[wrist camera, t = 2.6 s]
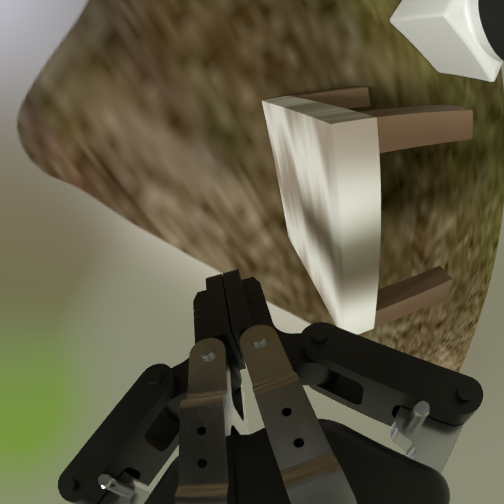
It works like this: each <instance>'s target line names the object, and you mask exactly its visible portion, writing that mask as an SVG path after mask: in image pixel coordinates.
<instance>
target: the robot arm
mask: <svg viewBox="0 0 504 504" xmlns="http://www.w3.org/2000/svg"><path fill="white" fill-rule="evenodd" d="M206 289H207V290H205V291H201V292H198V293H197V295H196V297H195V299H194V301H193V306H194V329H195V345H194V346H193V347H192V349H191V351H190V354H189V358H188V359H187V360H185V361H184V362H182V363H180V364H179V365H177V366H175V367H173V368H170V367H169V366H167V365H165V364H155V365H152V366H150V367H149V368H147V369H146V370H145V371H144V372H143V373H142V375H141V376H140V377H139V378H138V380H137V381H136V382H135V383H134V384H133V386H132V387H131V388H130V389H129V391H128V392H127V393H126V394H125V395H124V397H123V398H122V399H121V400H120V402H119V403H118V404H117V405H116V407H115V408H114V409H113V410H112V412H111V413H110V414H109V415H108V417H107V418H106V419H105V420H104V421H103V423H102V424H101V425H100V427H99V428H98V429H97V430H96V431H95V433H94V434H93V435H92V436H91V438H90V439H89V440H88V441H87V443H86V444H85V445H84V446H83V448H82V449H81V450H80V451H79V453H78V454H77V455H76V456H75V458H74V459H73V460H72V461H71V463H70V464H69V465H68V466H67V468H66V469H65V470H64V471H63V473H62V474H61V476H60V477H59V480H58V489H59V492H60V494H61V496H62V497H63V498H64V499H65V500H67V501H69V502H71V503H74V504H449V501H450V492H449V488H448V484H447V482H446V480H445V479H444V477H443V476H442V475H441V472H442V471H443V469H444V467H445V465H446V463H447V461H448V459H449V457H450V454H451V452H452V450H453V448H454V446H455V443H456V441H457V438H458V436H459V434H460V432H461V429H462V427H463V425H464V423H466V422H467V420H468V419H469V418H470V417H471V416H472V415H473V413H474V412H475V411H476V410H477V409H478V407H479V406H480V404H481V402H482V399H483V390H482V387H481V385H480V384H479V383H478V381H476V380H475V379H473V378H472V377H469V376H466V375H463V374H460V373H458V372H455V371H452V370H449V369H446V368H444V367H441V366H438V365H435V364H433V363H430V362H427V361H424V360H422V359H419V358H416V357H414V356H411V355H408V354H406V353H403V352H400V351H398V350H395V349H392V348H390V347H387V346H385V345H382V344H379V343H377V342H374V341H372V340H369V339H367V338H364V337H361V336H359V335H356V334H354V333H351V332H349V331H346V330H344V329H341V328H339V327H336V326H334V325H332V324H329V323H324V322H319V323H314V324H311V325H309V326H308V327H306V328H305V329H304V330H303V332H302V333H300V334H299V333H296V334H289V333H284V332H282V331H280V330H278V329H277V328H276V327H275V326H274V324H273V322H272V319H271V316H270V312H269V309H268V306H267V303H266V300H265V297H264V294H263V291H262V288H261V284H260V282H259V281H257V280H256V279H255V278H254V277H251V278H247V279H244V280H242V278H241V275H240V272H239V269H237V270H233V271H230V272H226V273H223V276H222V274H220V275H216V276H212V277H209V278H206ZM244 361H245V362H244ZM245 363H246V366H247V369H248V372H249V375H250V378H251V381H252V385H253V392H254V395H255V398H256V401H257V404H258V407H259V410H260V413H261V416H262V420H263V422H264V426H265V428H263V429H261V430H259V431H257V432H255V433H253V434H250V431H249V428H248V425H247V417H246V407H245V398H244V388H243V383H242V378H241V373H240V370H241V369H245V368H246V367H245ZM302 385H309V386H310V387H311V388H312V389H313V390H316V391H317V392H319V393H321V394H323V395H325V396H327V397H329V398H331V399H333V400H335V401H337V402H339V403H341V404H343V405H345V406H347V407H349V408H351V409H354V410H356V411H358V412H360V413H362V414H364V415H366V416H369V417H371V418H373V419H375V420H378V421H380V422H382V423H385V424H387V425H389V426H391V429H390V435H391V438H392V440H393V442H394V443H395V444H396V445H398V446H399V447H401V448H402V449H403V450H404V451H405V452H406V454H407V456H405V455H402V454H400V453H398V452H396V451H394V450H392V449H390V448H388V447H385V446H383V445H382V444H379V443H377V442H375V441H374V440H371V439H369V438H368V437H366V436H364V435H362V434H360V433H358V432H356V431H354V430H352V429H350V428H349V427H347V426H345V425H343V424H341V423H337V422H335V421H331V420H326V419H317V417H316V415H315V412H314V410H313V408H312V406H311V404H310V402H309V399H308V397H307V395H306V393H305V390H304V388H303V386H302ZM178 445H179V456H178V457H176V458H175V460H174V461H173V462H172V463H171V465H170V466H169V468H168V469H167V471H166V472H165V473H164V475H163V476H162V478H161V479H160V481H159V482H158V484H157V485H156V487H155V488H154V490H153V491H152V492H151V494H150V491H149V488H148V486H149V484H150V483H151V482H152V480H153V479H154V478H155V476H156V475H157V473H158V472H159V471H160V470H161V468H162V467H163V465H164V464H165V463H166V461H167V460H168V459H169V457H170V456H171V454H172V453H173V451H174V450H175V449H176V447H177V446H178Z"/></svg>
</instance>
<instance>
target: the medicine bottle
mask: <svg viewBox="0 0 504 504" xmlns="http://www.w3.org/2000/svg"><path fill="white" fill-rule="evenodd" d="M390 22H391V24H392V25H394V26H395V27H396V28H397V29H398V30H399V31H400V32H401V33H402V34H403V35H404V36H405V37H406V38H407V39H408V40H409V41H410V42H411V43H412V44H413V45H414V46H415V47H416V48H417V49H418V50H419V51H420V52H421V54H422V55H423V56H424V57H425V58H426V59H427V60H428V61H429V62H430V64H431V65H432V66H433V67H434V68H435V69H436V70H437V71H438V72H439V73H446V74H453V75H459V76H465V77H470V78H476V79H481V80H485V81H490V82H494V81H495V79H496V77H497V74H498V72H499V70H500V67H501V65H502V63H503V62H504V0H402V1H401V3H400V4H399V6H398V7H397V9H396V11H395V12H394V14H393V15H392V17H391V18H390Z"/></svg>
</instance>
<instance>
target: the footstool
mask: <svg viewBox="0 0 504 504" xmlns="http://www.w3.org/2000/svg"><path fill="white" fill-rule="evenodd" d="M262 104H263V108H264V113H265V118H266V122H267V127H268V132H269V137H270V141H271V146H272V151H273V156H274V161H275V166H276V171H277V176H278V182H279V187H280V192H281V197H282V203H283V208H284V214H285V219H286V225H287V231H288V236H289V239H290V241H291V243H292V245H293V246H294V248H295V250H296V252H297V253H298V255H299V257H300V259H301V261H302V262H303V264H304V266H305V268H306V270H307V272H308V273H309V275H310V277H311V279H312V281H313V283H314V284H315V286H316V288H317V290H318V292H319V294H320V295H321V297H322V299H323V301H324V303H325V305H326V307H327V309H328V310H329V312H330V314H331V316H332V318H333V320H334V322H335V324H336V326H337V327H339V328H341V329H344V330H346V331H349V332H351V333H354V334H356V335H358V334H360V333H363V332H366V331H368V330H371V329H373V328H376V327H378V326H381V325H383V324H386V323H388V322H391V321H393V320H396V319H398V318H400V317H403V316H405V315H407V314H410V313H412V312H414V311H417V310H419V309H421V308H423V307H426V306H428V305H430V304H432V303H434V302H436V301H439V300H441V299H443V298H445V297H447V296H448V295H449V291H450V287H451V284H452V280H453V279H452V278H451V277H450V276H449V275H448V274H447V273H446V272H445V271H444V270H443V269H442V268H441V267H440V266H438V267H436V268H433V269H431V270H428V271H426V272H424V273H421V274H419V275H416V276H413V277H411V278H408V279H406V280H403V281H401V282H398V283H395V284H393V285H390V286H387V287H385V288H382V289H379V290H378V279H379V263H380V239H381V180H380V156H379V153H384V152H390V151H395V150H401V149H407V148H413V147H419V146H426V145H432V144H439V143H446V142H453V141H461V140H469V139H473V110H470V109H467V108H463V107H460V106H456V105H427V106H411V107H399V108H388V109H379V110H370V111H362V112H356V111H353V110H349V109H350V108H358V107H366V106H370V99H369V91H368V87H360V86H356V87H346V88H337V89H329V90H321V91H314V92H307V93H301V94H295V95H289V96H283V97H278V98H273V99H268V100H263V101H262Z"/></svg>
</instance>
